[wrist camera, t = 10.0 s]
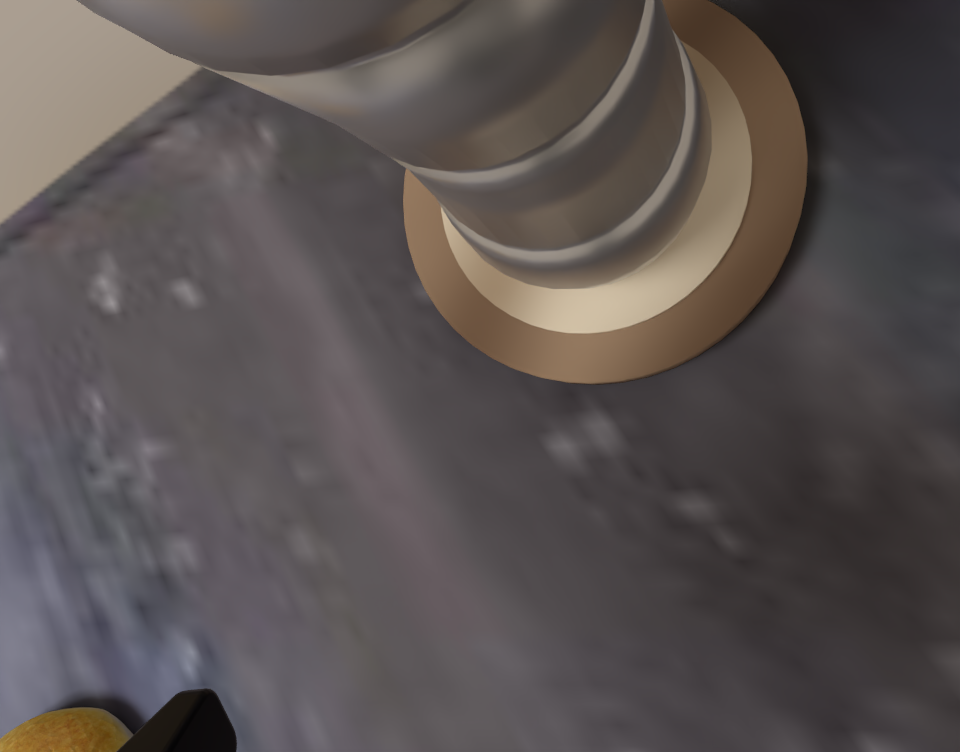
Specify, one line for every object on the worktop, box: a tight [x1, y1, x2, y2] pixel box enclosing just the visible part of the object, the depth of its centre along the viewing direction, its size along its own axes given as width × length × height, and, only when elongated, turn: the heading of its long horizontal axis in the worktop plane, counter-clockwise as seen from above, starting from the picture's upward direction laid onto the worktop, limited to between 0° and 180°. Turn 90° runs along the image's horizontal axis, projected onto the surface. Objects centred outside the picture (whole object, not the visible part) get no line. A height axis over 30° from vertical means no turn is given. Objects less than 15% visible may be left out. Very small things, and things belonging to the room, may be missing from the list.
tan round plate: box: [403, 0, 808, 385], centre depth 21 cm, size 11×11×2 cm
